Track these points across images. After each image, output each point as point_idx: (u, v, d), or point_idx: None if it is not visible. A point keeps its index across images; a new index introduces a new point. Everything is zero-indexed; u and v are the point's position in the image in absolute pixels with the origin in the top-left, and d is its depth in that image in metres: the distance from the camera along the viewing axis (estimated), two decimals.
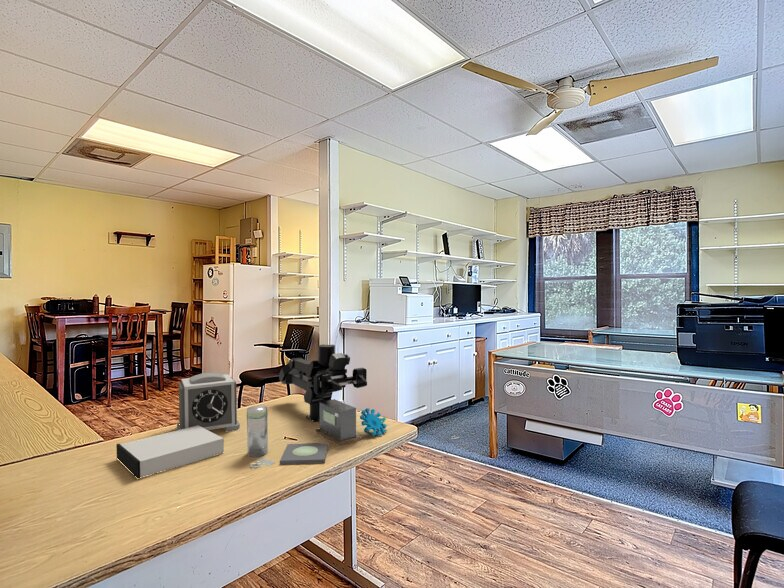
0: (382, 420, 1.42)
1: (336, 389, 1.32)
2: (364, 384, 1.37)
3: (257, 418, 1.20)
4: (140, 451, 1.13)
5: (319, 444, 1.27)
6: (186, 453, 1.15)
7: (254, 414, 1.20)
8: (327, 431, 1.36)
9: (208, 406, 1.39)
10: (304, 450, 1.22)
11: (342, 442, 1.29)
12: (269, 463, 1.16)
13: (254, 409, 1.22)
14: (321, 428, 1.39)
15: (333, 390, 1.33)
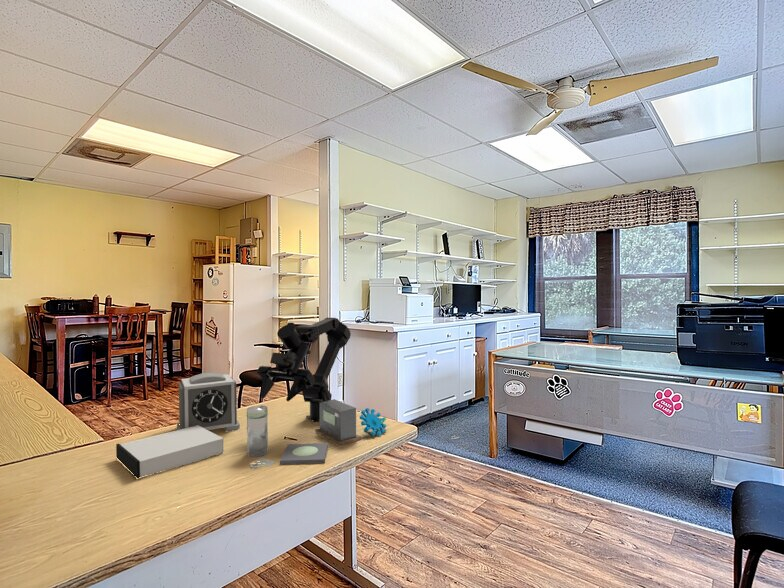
0: (382, 420, 1.42)
1: None
2: None
3: (257, 418, 1.20)
4: (140, 451, 1.13)
5: (319, 444, 1.27)
6: (186, 453, 1.15)
7: (254, 414, 1.20)
8: (327, 431, 1.36)
9: (208, 406, 1.39)
10: (304, 450, 1.22)
11: (342, 442, 1.29)
12: (269, 463, 1.16)
13: (254, 409, 1.22)
14: (321, 428, 1.39)
15: None
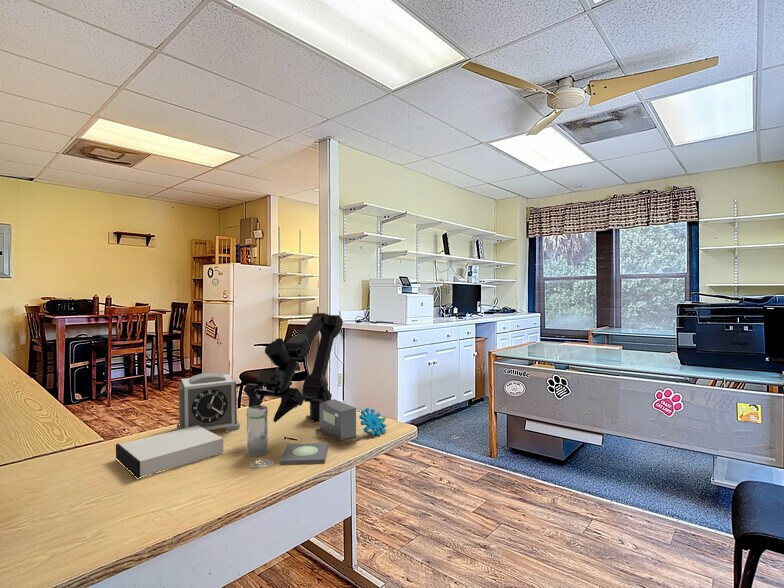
0: (382, 420, 1.42)
1: None
2: None
3: (257, 418, 1.20)
4: (140, 451, 1.13)
5: (319, 444, 1.27)
6: (186, 453, 1.15)
7: (254, 414, 1.20)
8: (327, 431, 1.36)
9: (208, 406, 1.39)
10: (304, 450, 1.22)
11: (342, 442, 1.29)
12: (269, 463, 1.16)
13: (254, 409, 1.22)
14: (321, 428, 1.39)
15: None
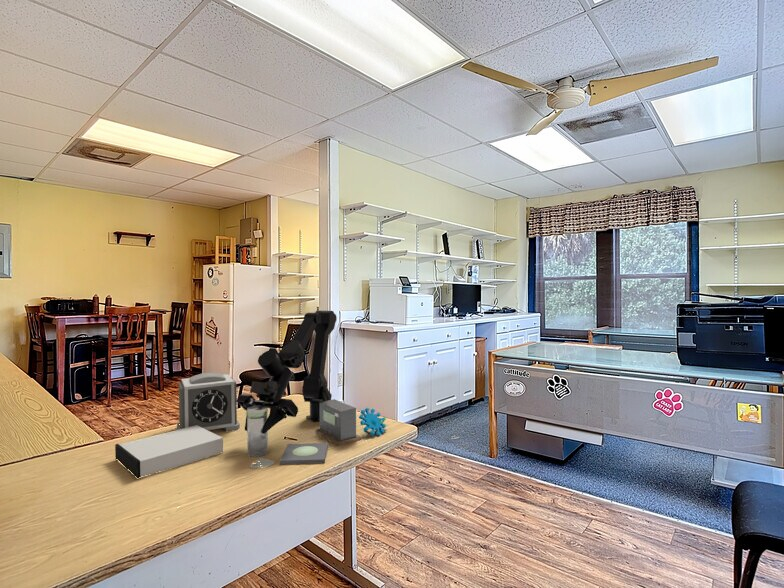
0: (382, 420, 1.42)
1: None
2: None
3: (257, 418, 1.20)
4: (139, 451, 1.13)
5: (319, 444, 1.27)
6: (186, 453, 1.16)
7: (254, 414, 1.20)
8: (327, 431, 1.36)
9: (208, 406, 1.39)
10: (304, 450, 1.22)
11: (342, 442, 1.29)
12: (269, 463, 1.16)
13: (254, 409, 1.22)
14: (321, 428, 1.39)
15: None
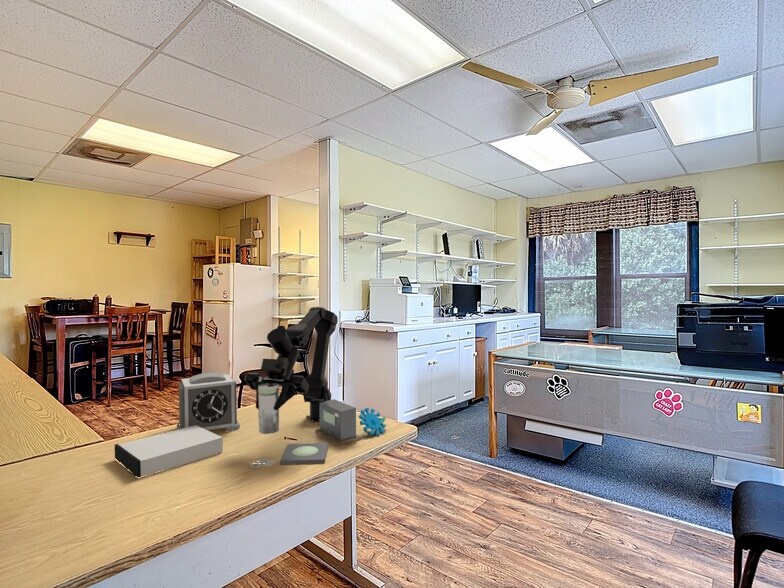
0: (381, 420, 1.42)
1: None
2: None
3: (270, 395, 1.19)
4: (139, 451, 1.14)
5: (319, 444, 1.27)
6: (186, 452, 1.16)
7: (267, 390, 1.19)
8: (327, 431, 1.36)
9: (208, 406, 1.39)
10: (304, 450, 1.22)
11: (342, 442, 1.29)
12: (269, 464, 1.16)
13: (266, 386, 1.20)
14: (321, 428, 1.39)
15: None
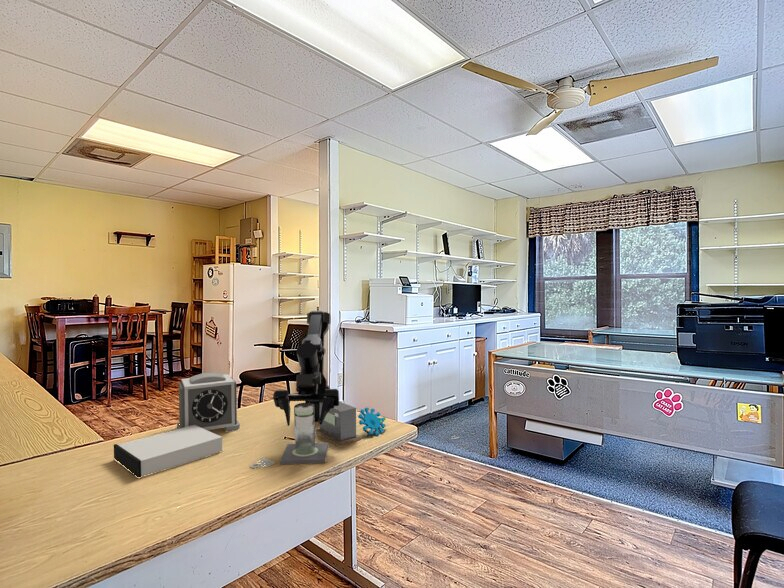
0: (381, 420, 1.42)
1: None
2: None
3: (309, 415, 1.19)
4: (139, 451, 1.14)
5: (319, 444, 1.27)
6: (186, 452, 1.16)
7: (307, 412, 1.18)
8: (327, 431, 1.36)
9: (208, 406, 1.39)
10: None
11: (342, 442, 1.29)
12: (269, 463, 1.15)
13: (303, 407, 1.19)
14: (321, 428, 1.39)
15: None
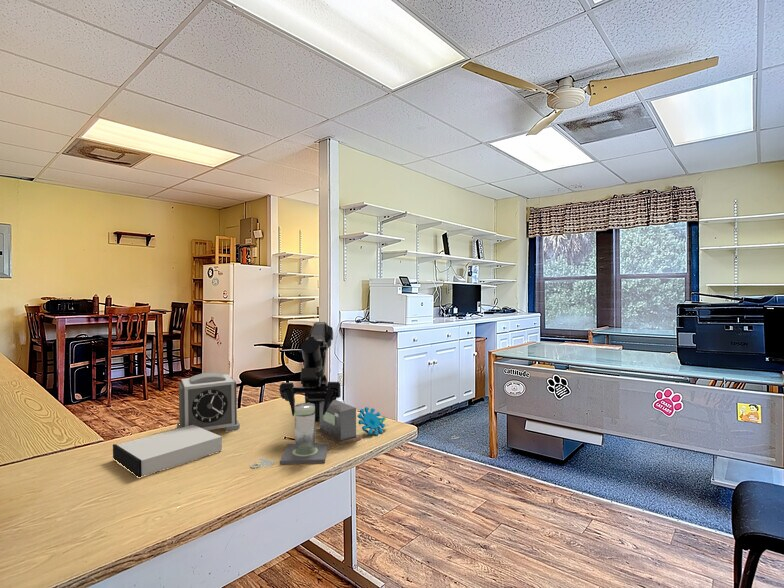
0: (381, 420, 1.42)
1: None
2: (323, 412, 1.31)
3: (310, 415, 1.19)
4: (139, 451, 1.14)
5: (319, 444, 1.27)
6: (186, 452, 1.16)
7: (307, 411, 1.19)
8: (327, 431, 1.36)
9: (208, 406, 1.39)
10: None
11: (342, 442, 1.29)
12: (269, 464, 1.15)
13: (304, 407, 1.20)
14: (321, 428, 1.39)
15: None
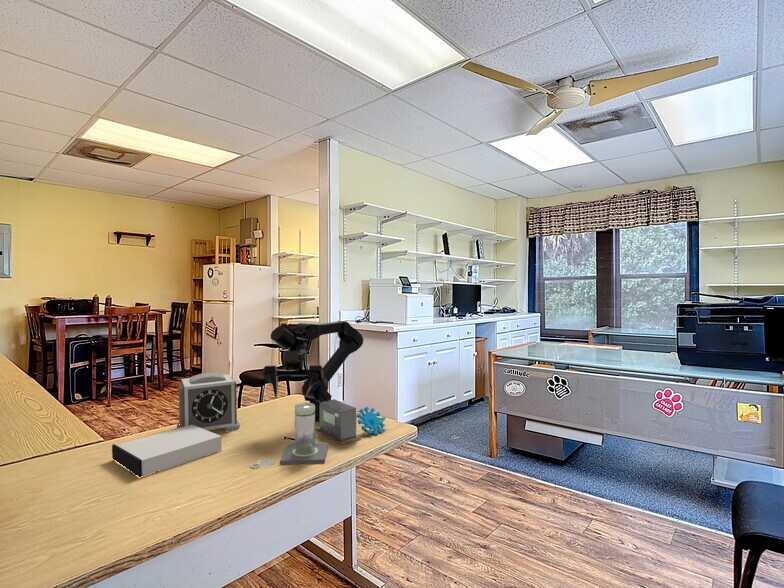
0: (381, 419, 1.42)
1: None
2: (305, 393, 1.35)
3: (310, 415, 1.19)
4: (139, 451, 1.14)
5: (319, 444, 1.27)
6: (186, 451, 1.17)
7: (307, 411, 1.19)
8: (327, 431, 1.36)
9: (208, 406, 1.39)
10: None
11: (342, 442, 1.29)
12: (269, 464, 1.15)
13: (304, 407, 1.20)
14: (321, 428, 1.39)
15: None
